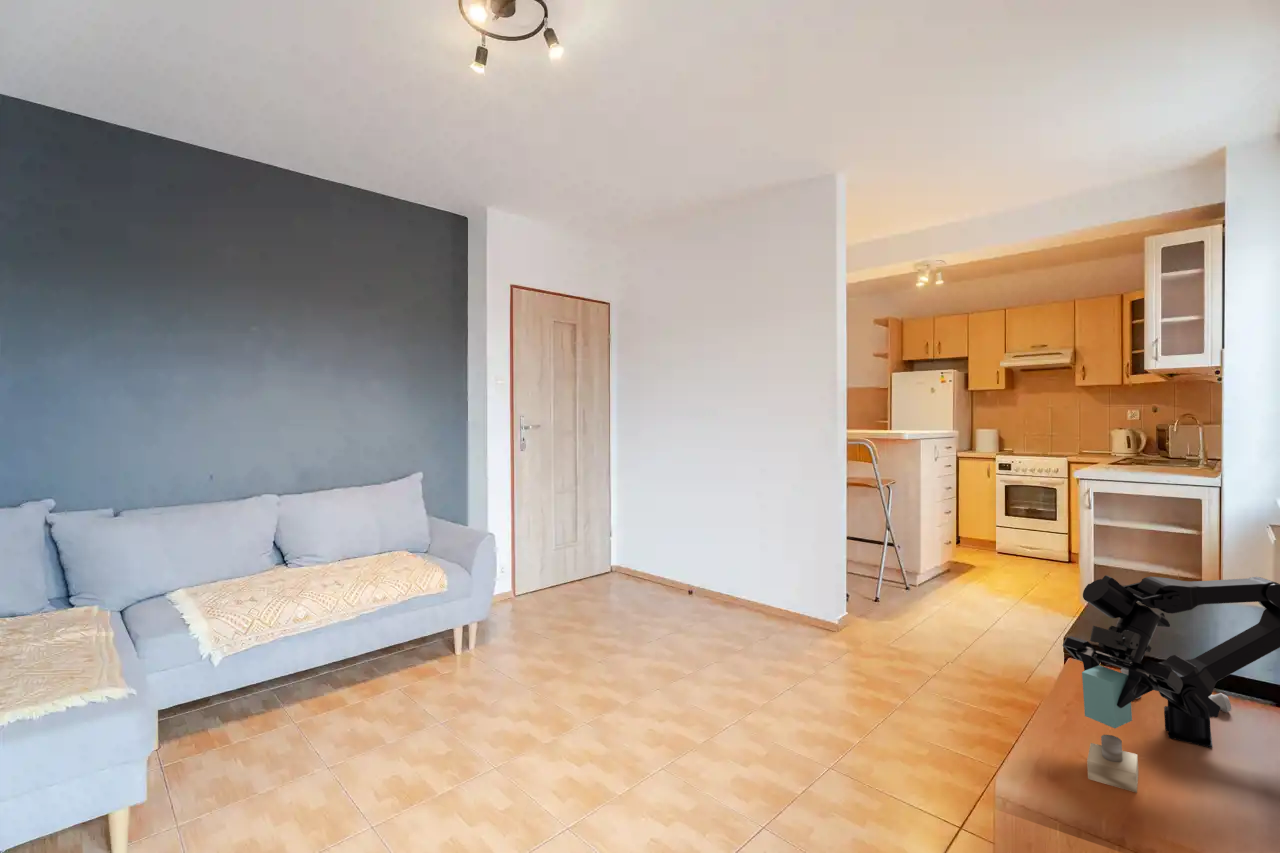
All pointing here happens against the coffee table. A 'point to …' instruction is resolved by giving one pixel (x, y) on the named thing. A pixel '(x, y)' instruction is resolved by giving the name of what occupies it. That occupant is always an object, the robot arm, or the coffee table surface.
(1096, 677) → the teal square top
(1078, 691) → the coffee table surface
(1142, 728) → the coffee table surface
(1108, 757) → the post pedestal
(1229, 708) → the smooth white sculpture
